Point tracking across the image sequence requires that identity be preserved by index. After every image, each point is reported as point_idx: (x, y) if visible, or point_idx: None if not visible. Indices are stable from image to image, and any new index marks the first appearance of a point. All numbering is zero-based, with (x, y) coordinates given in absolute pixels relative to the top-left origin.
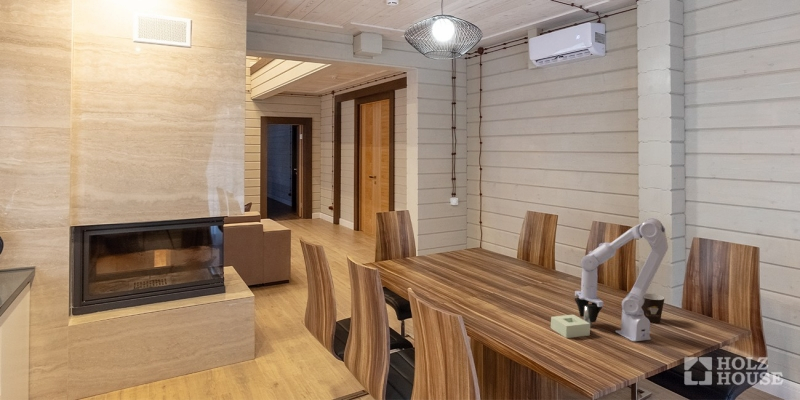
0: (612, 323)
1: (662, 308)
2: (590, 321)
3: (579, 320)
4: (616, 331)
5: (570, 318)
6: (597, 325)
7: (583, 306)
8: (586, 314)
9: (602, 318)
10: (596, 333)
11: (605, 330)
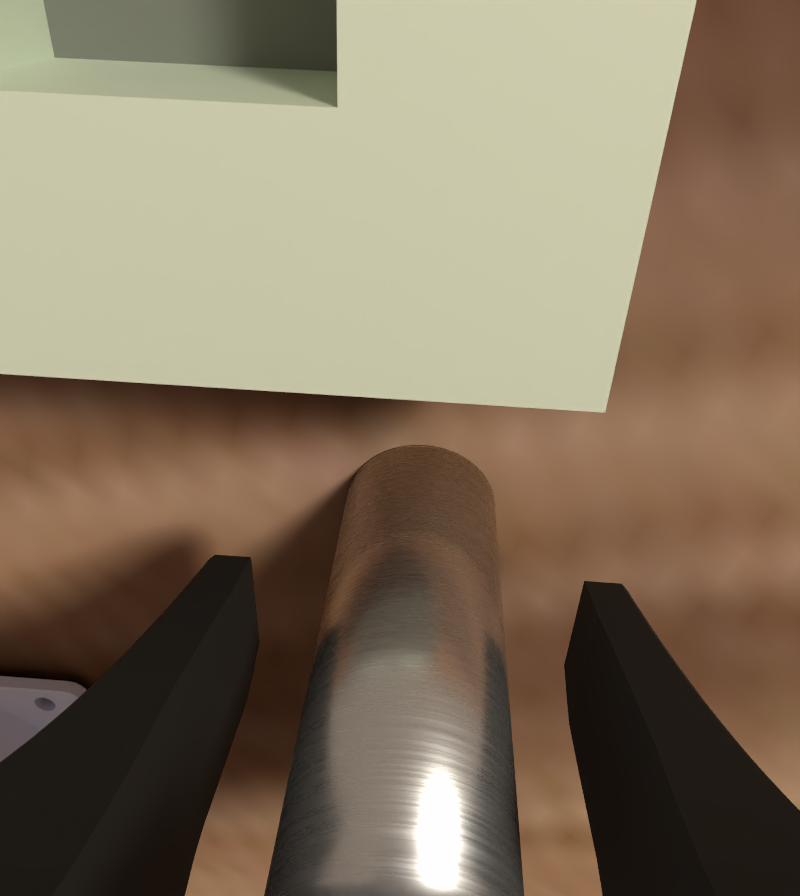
0: None
1: None
2: (227, 560)
3: (15, 211)
4: (49, 693)
5: (341, 45)
6: None
7: (636, 877)
8: (350, 661)
9: None
10: (62, 425)
11: None
